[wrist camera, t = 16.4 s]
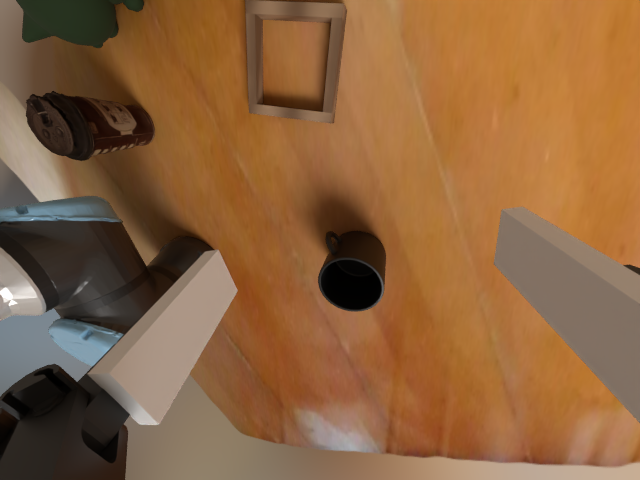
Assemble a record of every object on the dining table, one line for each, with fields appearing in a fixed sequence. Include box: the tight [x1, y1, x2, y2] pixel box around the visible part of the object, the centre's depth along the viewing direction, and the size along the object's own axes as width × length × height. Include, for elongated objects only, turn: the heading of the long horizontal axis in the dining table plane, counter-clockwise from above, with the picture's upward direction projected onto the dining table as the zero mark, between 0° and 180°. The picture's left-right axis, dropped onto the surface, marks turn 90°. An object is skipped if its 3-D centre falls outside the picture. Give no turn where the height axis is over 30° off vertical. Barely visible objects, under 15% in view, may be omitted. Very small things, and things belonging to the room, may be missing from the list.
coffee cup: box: [26, 91, 155, 161], centre depth 37 cm, size 9×8×13 cm
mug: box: [318, 231, 386, 311], centre depth 38 cm, size 9×12×9 cm
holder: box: [245, 0, 347, 123], centre depth 32 cm, size 12×12×2 cm
